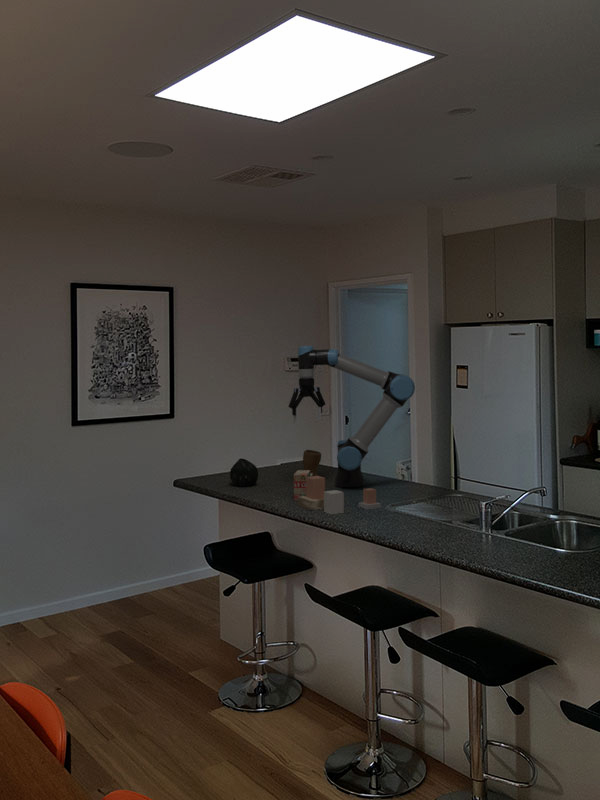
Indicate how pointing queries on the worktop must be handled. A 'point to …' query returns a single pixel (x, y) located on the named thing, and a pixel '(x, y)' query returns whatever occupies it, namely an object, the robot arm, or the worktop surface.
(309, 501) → the birch base block
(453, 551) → the worktop surface
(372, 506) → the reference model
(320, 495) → the terracotta block
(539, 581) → the worktop surface
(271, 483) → the worktop surface
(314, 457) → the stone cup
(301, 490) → the stack of blocks
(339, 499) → the off-white block
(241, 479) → the squash
